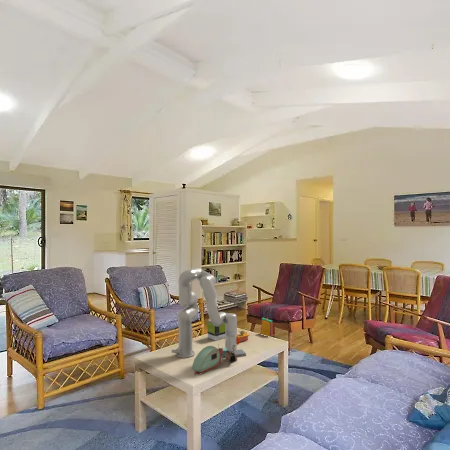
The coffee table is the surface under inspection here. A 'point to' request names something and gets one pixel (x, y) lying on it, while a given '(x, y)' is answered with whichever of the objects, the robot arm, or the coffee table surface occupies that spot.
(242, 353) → the base plate
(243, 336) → the toy building block set
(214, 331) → the tea box
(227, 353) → the walnut block
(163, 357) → the coffee table surface
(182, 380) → the coffee table surface
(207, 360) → the toy snail
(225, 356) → the teal block
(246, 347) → the coffee table surface
